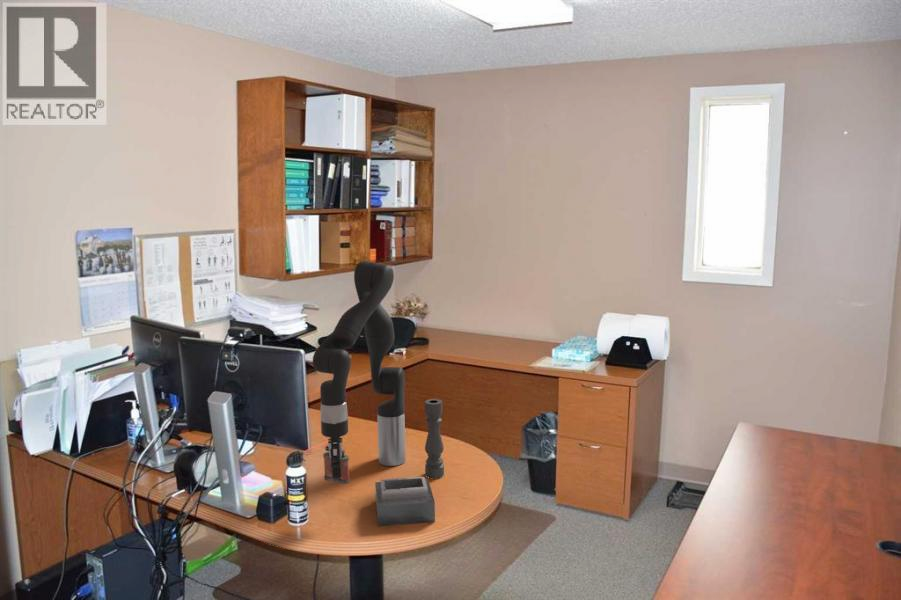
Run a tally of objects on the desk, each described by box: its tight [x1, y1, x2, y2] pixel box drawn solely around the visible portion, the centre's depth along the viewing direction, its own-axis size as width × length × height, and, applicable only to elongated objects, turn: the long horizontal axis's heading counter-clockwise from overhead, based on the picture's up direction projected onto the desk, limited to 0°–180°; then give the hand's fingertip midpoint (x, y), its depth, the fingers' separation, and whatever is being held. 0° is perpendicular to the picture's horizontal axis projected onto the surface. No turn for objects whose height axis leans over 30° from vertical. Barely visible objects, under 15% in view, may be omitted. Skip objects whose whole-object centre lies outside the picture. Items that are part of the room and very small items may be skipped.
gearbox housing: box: [374, 476, 436, 527], centre depth 206 cm, size 16×16×8 cm
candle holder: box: [424, 398, 445, 479], centre depth 230 cm, size 6×6×25 cm
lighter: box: [322, 445, 351, 485], centre depth 202 cm, size 8×3×10 cm, turn 65°
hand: (336, 473), depth 202 cm, fingers closed on lighter, 4 cm apart
